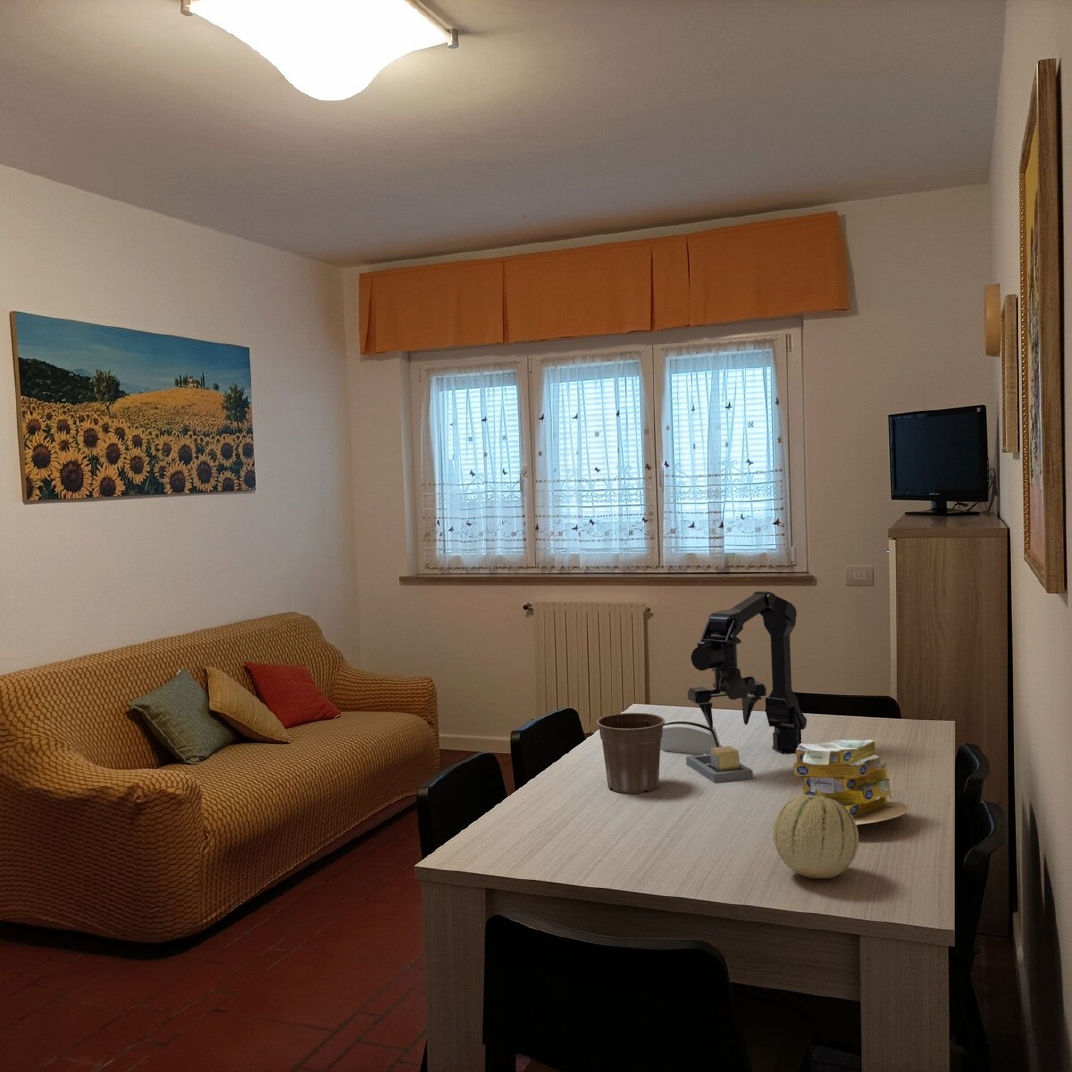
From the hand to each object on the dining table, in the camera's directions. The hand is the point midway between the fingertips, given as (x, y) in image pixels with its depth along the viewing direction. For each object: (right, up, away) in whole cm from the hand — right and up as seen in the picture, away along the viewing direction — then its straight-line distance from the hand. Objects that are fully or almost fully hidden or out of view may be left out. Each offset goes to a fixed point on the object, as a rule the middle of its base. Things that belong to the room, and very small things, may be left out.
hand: (728, 726), depth 253 cm
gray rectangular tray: (-2, -12, +2) cm, 12 cm away
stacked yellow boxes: (+17, -13, -39) cm, 44 cm away
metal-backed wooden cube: (-1, -12, -2) cm, 12 cm away
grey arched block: (-6, -11, +22) cm, 25 cm away
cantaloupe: (+3, -14, -69) cm, 70 cm away
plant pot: (-24, -13, -8) cm, 29 cm away
